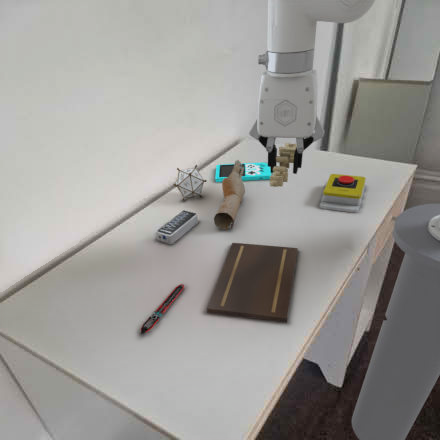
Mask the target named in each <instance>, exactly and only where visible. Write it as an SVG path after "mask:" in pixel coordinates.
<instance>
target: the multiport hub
mask: <svg viewBox="0 0 440 440" xmlns="http://www.w3.org/2000/svg"><path fill="white" fill-rule="evenodd" d="M198 216H199V215H198V213H196V212H192V211H189V210H185V209H184V210H181V211H179V213H177V214H175V216H173V217H171V219H169V220H168V221H167V222H166V223H164V224H163V225H162V226H160V227H159V228H158V229H156V230H155V236H156V240H157V241H159V242H162V243H165V244H168V245H173V244H175V243H176V242H177V241H178V240H179V239H181V238H182V237H183V236H184V235H186V234H187V233H188V232H189V231H190V230H191V229H193V228H194V227H195V226H196V225H197V224H198V223H199V217H198Z"/></svg>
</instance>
